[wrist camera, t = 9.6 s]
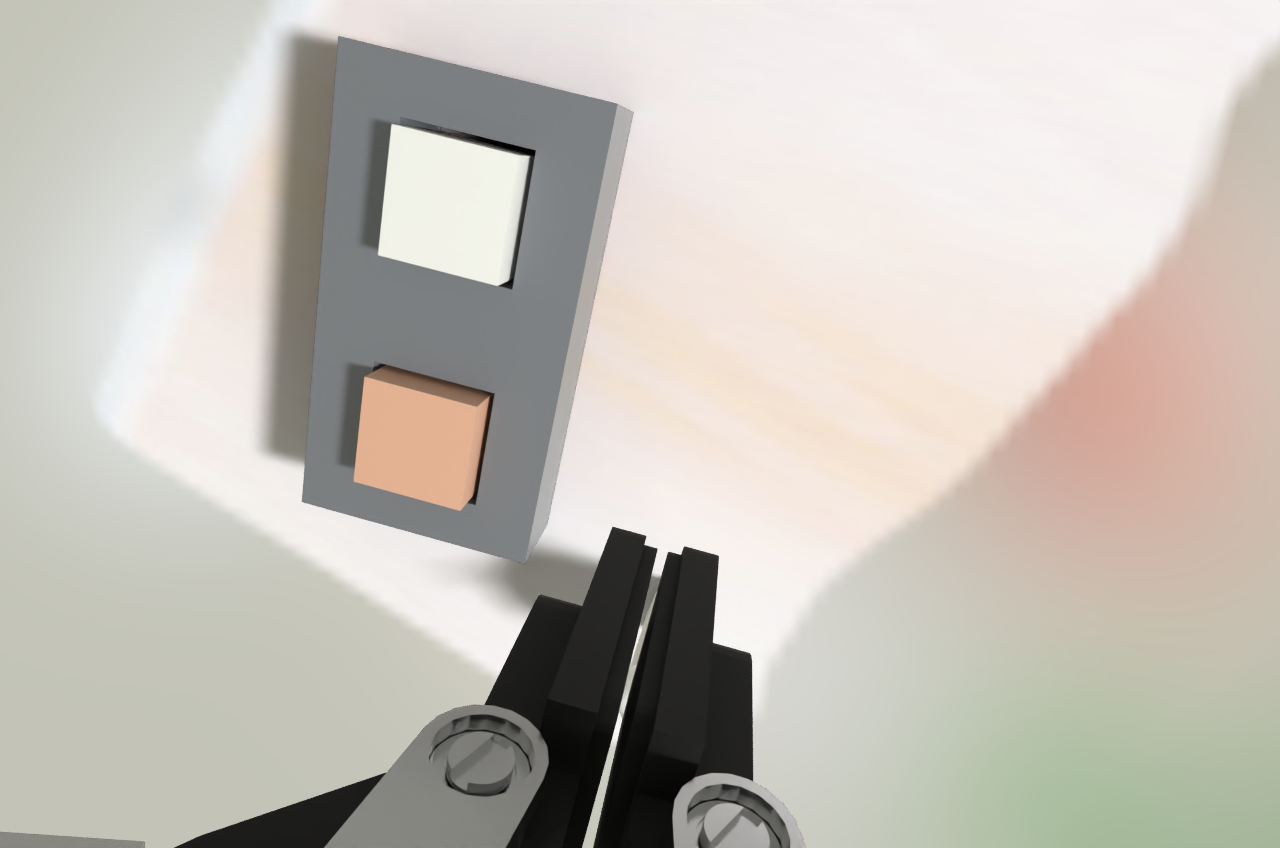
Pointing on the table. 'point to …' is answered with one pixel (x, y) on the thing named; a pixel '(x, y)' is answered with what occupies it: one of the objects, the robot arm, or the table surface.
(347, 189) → the key panel
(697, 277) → the table surface
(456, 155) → the white square block
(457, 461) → the clay key
